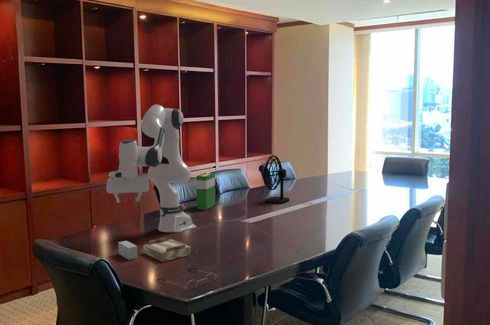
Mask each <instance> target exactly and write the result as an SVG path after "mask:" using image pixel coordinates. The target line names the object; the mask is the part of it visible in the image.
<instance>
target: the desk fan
mask: <svg viewBox="0 0 490 325" xmlns="http://www.w3.org/2000/svg"><path fill="white" fill-rule="evenodd" d="M273 163H274V164H275V165H274V167H273ZM264 164H265V165H264V168H263V173H262V177H263V181H264V184H265V186H266V188H267V189H268V191H269V190H270V191H276V190H277V188H278V187H279V186H280V187H279V188H280V190H279V191H280V193H279V196H271V197H268V198H266V199H265V200H264V201H265V203H268V202H269V203H270V204H283V203H286V202H289V201H290V200H291V199H290V198H289V197H284V179H286V177H287V170H286V169H285V168H283V166H282V162H281V161H280V158H279V157H278V156H277V155H274V154H273V155H270V156H269V158H268V159H267V160H266V162H265V163H264ZM268 165H269V167H268ZM271 169H272V170H271ZM270 173H271V174H270ZM277 177H278V180H277ZM272 180H273V182H271V181H272ZM275 184H276V185H275ZM274 185H275V186H274Z"/></svg>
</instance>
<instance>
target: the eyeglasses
mask: <svg viewBox="0 0 490 325" xmlns="http://www.w3.org/2000/svg"><path fill="white" fill-rule="evenodd" d="M191 269H192V270H195V271H198V272H202V273H206V274H207V275H206V276H205V278H202V279H199V280H195V282H196V283H195V284H196V285H195V286H194V288H195V289H196V288H197V286H198V283H200V282H202V281H204V280H205V282H206V283H207V284H208V283H209V281H208V280H207V279H208V276H210V275H212V276H214V279H213V281H216V278H217V277H218V275H217V273H215V272H213V273H212V272H208V273H207V272H206V271H203V270H200V269H196V268H193V267H190V268H188V269H187V271H190V270H191ZM156 281H163V282H168V283H171V284H174V285H177V286H180V287H183V288H184V289H186V290H187V291H189V289H188V285H189V283H191V282H192V281H193V279H191V280H189V281H187V283H186V285H185V286H183V285H179V284H177V283H174V282H171V281H168V280H166V279H163V278H157V279H156Z"/></svg>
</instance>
